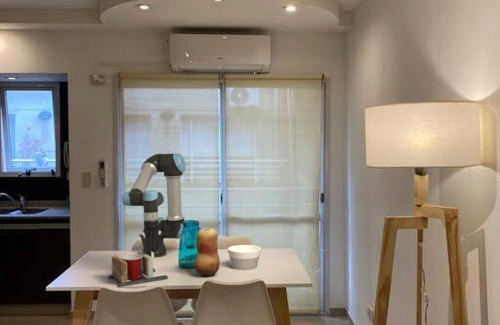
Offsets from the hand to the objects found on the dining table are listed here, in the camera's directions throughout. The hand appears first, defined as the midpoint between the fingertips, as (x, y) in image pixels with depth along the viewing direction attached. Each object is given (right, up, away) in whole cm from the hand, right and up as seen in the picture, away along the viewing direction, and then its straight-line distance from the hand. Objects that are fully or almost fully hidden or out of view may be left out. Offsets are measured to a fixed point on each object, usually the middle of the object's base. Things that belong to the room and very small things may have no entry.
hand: (151, 264), depth 249 cm
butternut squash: (+29, -7, +2) cm, 30 cm away
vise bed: (-7, -7, -4) cm, 10 cm away
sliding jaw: (-3, -5, -2) cm, 6 cm away
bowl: (+49, -6, +19) cm, 53 cm away
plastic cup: (-8, -7, -5) cm, 11 cm away
